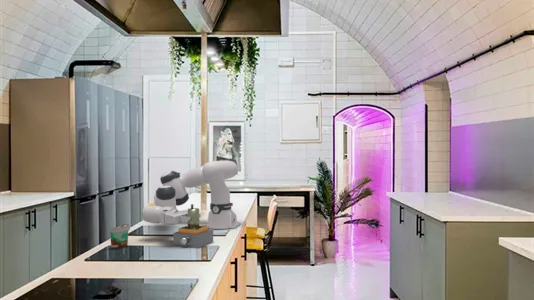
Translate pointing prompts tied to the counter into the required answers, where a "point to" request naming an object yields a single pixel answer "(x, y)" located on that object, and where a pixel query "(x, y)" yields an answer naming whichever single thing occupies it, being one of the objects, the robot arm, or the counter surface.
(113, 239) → the food container
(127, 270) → the counter surface
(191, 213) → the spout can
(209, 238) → the grey drawer box
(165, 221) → the robot arm
